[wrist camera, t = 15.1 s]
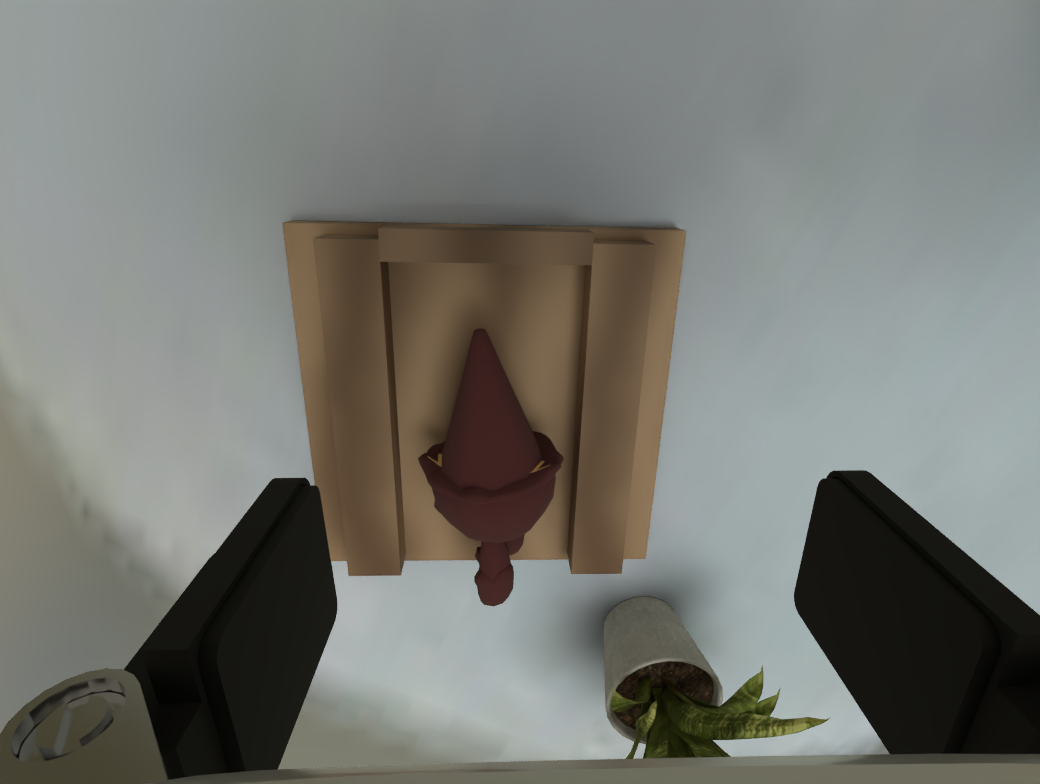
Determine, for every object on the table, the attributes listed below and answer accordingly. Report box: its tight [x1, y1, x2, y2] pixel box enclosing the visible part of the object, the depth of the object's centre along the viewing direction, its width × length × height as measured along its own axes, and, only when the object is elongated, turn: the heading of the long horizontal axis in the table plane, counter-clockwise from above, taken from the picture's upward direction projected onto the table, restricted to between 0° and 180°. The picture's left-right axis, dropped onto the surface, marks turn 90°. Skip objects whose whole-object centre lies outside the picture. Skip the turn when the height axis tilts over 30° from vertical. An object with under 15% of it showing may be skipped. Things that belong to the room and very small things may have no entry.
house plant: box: [603, 597, 830, 759], centre depth 32 cm, size 14×14×16 cm
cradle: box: [283, 221, 686, 576], centre depth 31 cm, size 20×20×4 cm
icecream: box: [418, 329, 564, 606], centre depth 29 cm, size 7×7×15 cm
